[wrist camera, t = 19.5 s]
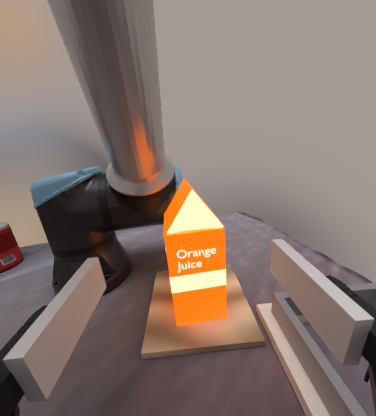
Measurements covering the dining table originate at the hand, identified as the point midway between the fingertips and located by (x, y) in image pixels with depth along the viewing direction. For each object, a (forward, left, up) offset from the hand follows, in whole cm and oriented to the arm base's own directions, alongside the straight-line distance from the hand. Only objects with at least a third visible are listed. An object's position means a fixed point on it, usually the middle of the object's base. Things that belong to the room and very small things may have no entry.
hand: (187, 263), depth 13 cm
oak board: (-12, +1, -17) cm, 21 cm away
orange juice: (-12, +1, -16) cm, 20 cm away
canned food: (-30, -49, -17) cm, 60 cm away
